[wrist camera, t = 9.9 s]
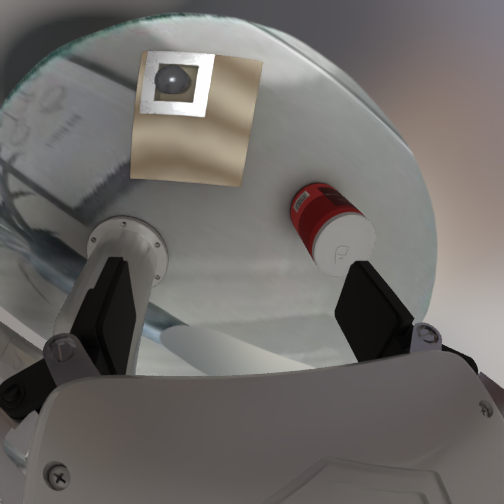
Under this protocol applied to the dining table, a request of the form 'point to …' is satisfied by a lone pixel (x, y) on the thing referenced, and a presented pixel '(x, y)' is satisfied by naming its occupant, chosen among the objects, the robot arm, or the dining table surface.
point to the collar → (181, 59)
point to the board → (199, 128)
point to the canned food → (331, 229)
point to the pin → (172, 80)
